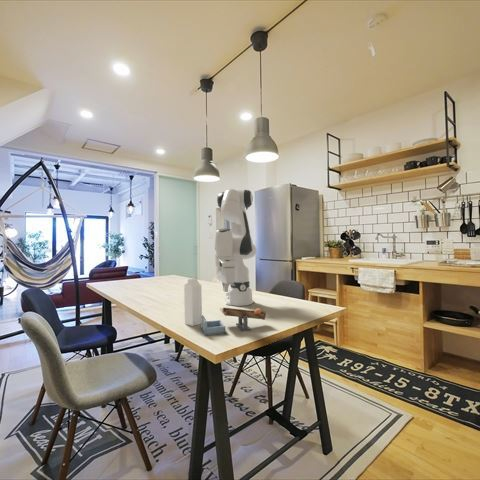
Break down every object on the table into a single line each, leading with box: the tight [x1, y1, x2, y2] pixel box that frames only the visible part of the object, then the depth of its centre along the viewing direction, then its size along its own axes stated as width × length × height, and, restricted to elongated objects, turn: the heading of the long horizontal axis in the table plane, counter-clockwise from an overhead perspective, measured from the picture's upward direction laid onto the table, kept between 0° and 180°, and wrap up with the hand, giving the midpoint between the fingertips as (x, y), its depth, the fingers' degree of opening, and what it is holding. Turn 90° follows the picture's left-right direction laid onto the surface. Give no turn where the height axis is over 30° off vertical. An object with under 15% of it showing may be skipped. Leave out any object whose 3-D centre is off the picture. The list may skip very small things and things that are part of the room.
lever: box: [219, 307, 267, 321], centre depth 129 cm, size 19×12×4 cm, turn 107°
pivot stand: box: [235, 315, 252, 332], centre depth 126 cm, size 4×10×7 cm, turn 17°
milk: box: [183, 277, 203, 327], centre depth 134 cm, size 6×6×22 cm
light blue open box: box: [200, 314, 226, 337], centre depth 122 cm, size 10×9×6 cm
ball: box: [253, 308, 262, 314], centre depth 129 cm, size 4×4×4 cm
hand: (225, 291), depth 130 cm, fingers closed
